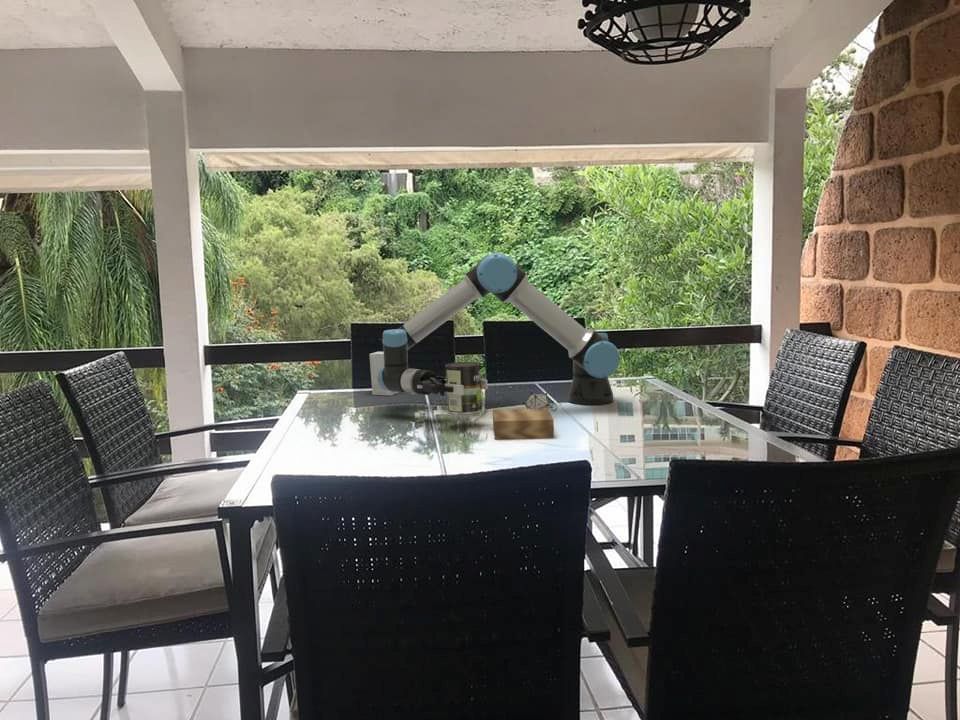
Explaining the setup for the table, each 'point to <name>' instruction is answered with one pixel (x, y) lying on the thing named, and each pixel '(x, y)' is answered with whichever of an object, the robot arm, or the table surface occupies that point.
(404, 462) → the table surface
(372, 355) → the skincare box
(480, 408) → the coffee can
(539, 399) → the game die
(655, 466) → the table surface
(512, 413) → the teak block
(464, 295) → the robot arm
